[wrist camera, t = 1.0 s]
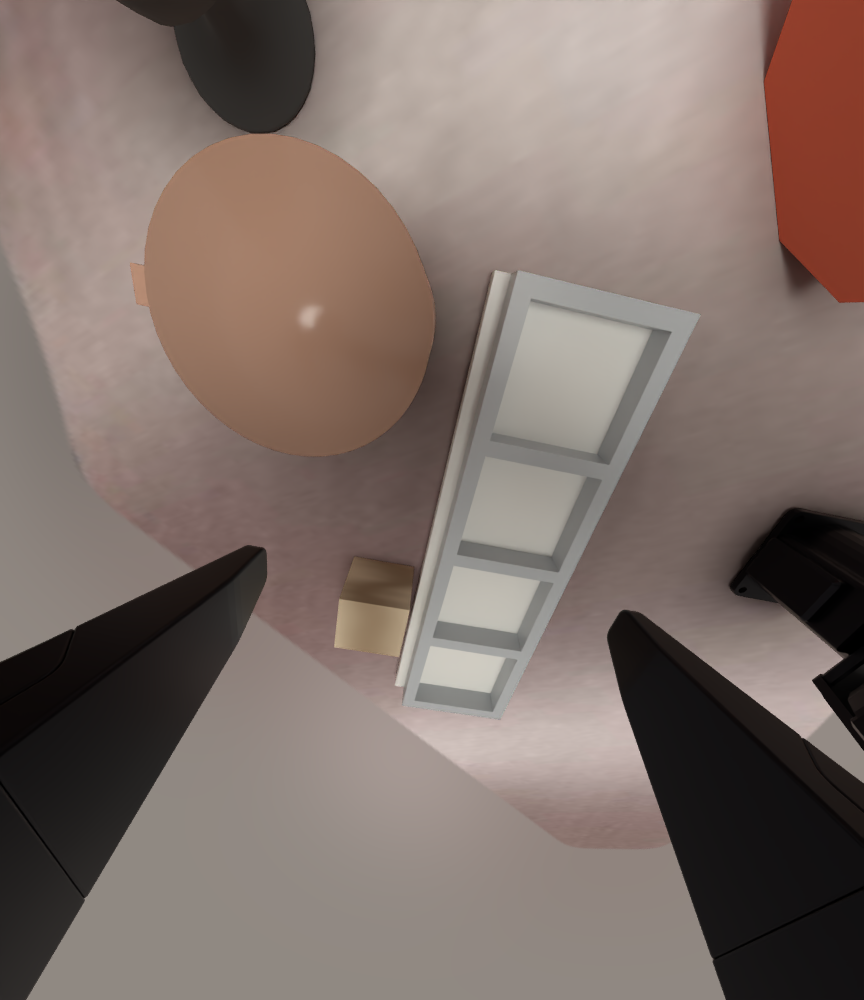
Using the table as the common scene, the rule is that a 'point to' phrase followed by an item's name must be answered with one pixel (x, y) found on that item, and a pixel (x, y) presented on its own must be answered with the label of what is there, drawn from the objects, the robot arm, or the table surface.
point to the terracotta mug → (287, 295)
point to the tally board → (529, 477)
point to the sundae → (242, 55)
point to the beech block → (374, 607)
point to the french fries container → (820, 140)
